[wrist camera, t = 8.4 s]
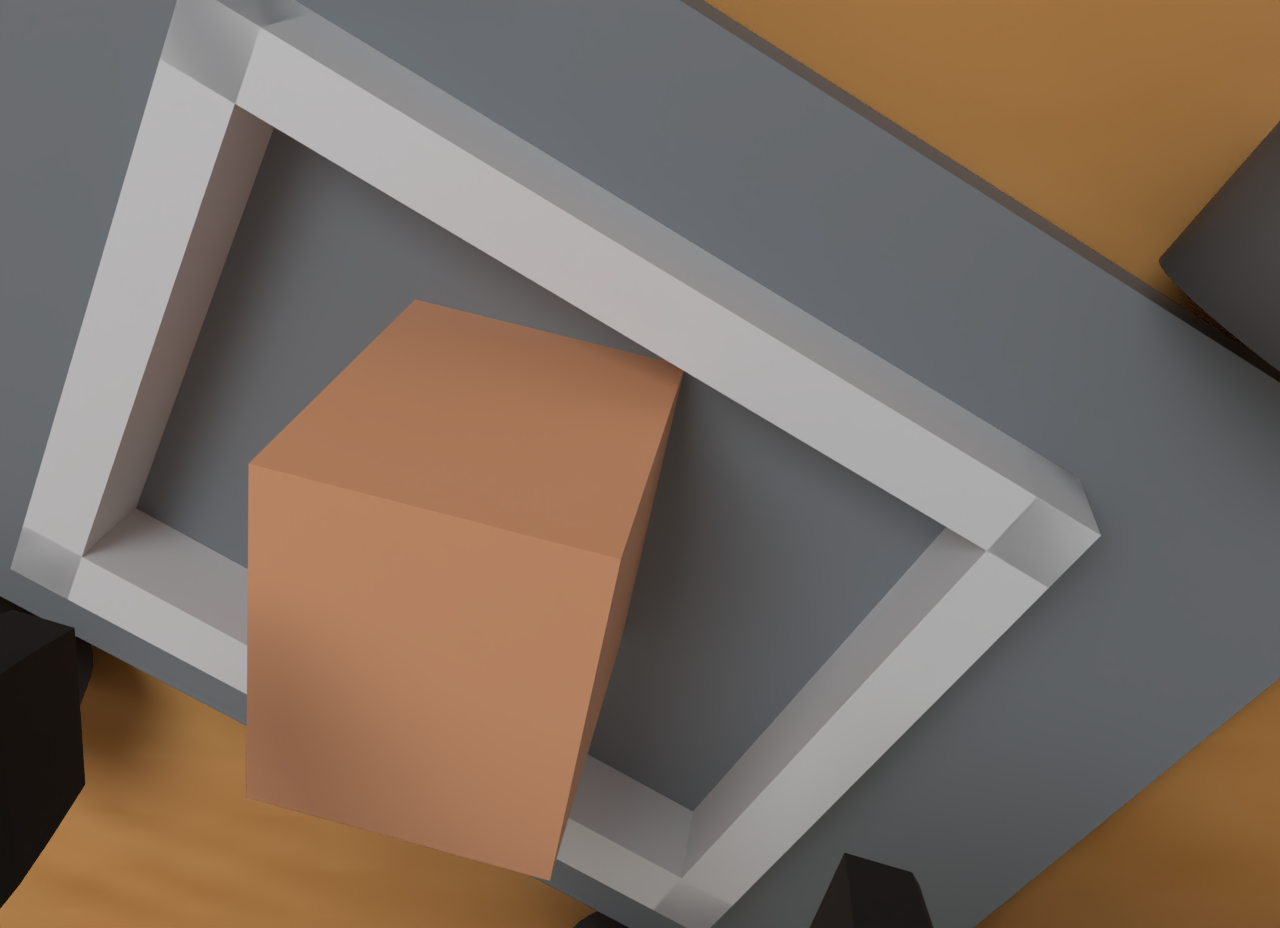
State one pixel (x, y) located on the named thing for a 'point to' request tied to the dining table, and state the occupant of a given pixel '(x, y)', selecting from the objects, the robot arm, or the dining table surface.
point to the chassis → (702, 423)
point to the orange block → (449, 581)
